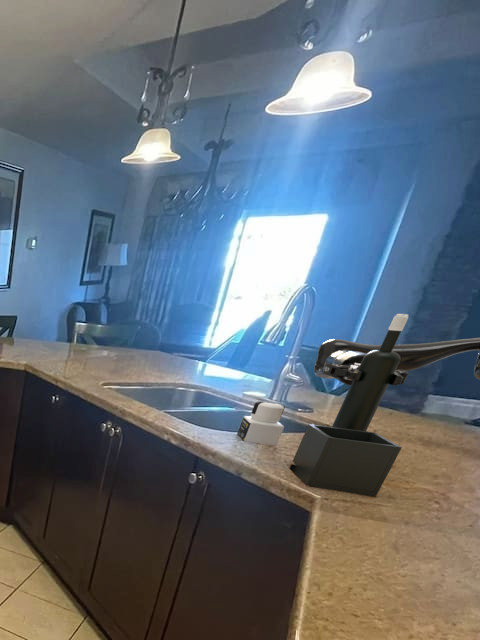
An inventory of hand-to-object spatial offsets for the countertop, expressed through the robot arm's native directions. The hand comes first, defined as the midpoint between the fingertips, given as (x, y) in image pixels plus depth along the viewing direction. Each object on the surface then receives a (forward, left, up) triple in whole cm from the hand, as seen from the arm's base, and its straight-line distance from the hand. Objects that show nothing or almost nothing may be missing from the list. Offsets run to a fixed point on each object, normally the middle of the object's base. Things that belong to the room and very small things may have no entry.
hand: (377, 378), depth 108 cm
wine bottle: (0, -2, -17) cm, 17 cm away
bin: (+5, +12, -21) cm, 25 cm away
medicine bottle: (+14, -10, -22) cm, 27 cm away
